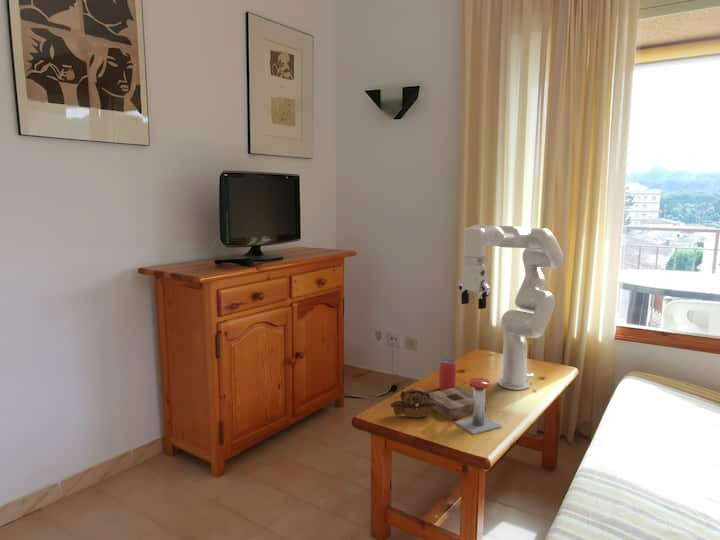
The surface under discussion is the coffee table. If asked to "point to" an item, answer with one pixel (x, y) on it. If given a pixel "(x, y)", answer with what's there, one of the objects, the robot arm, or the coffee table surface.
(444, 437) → the coffee table surface
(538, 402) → the coffee table surface
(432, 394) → the eye block
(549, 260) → the robot arm
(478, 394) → the peg
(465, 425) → the mat
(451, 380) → the beer can
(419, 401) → the wooden carving
